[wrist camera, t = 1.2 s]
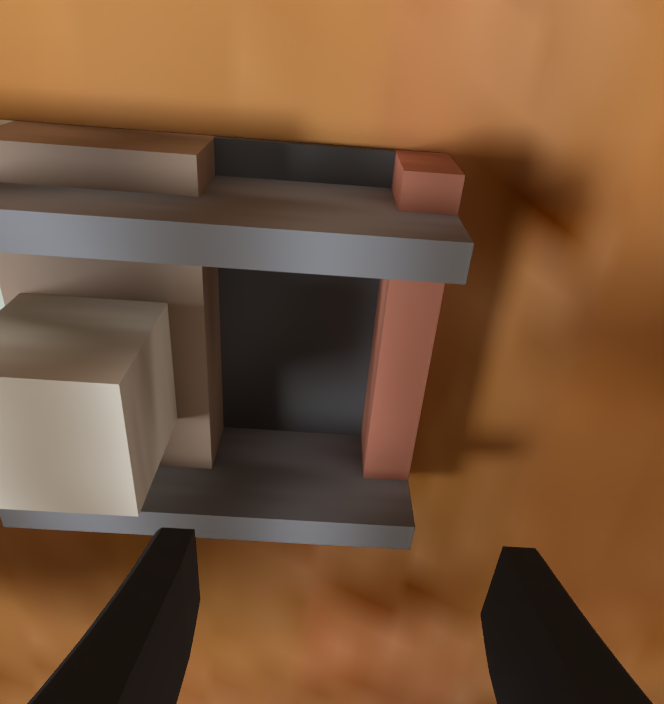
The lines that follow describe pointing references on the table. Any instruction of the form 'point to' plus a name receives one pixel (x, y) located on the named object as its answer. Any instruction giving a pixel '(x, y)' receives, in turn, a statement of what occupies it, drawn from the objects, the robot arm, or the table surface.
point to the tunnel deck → (252, 313)
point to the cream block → (83, 402)
